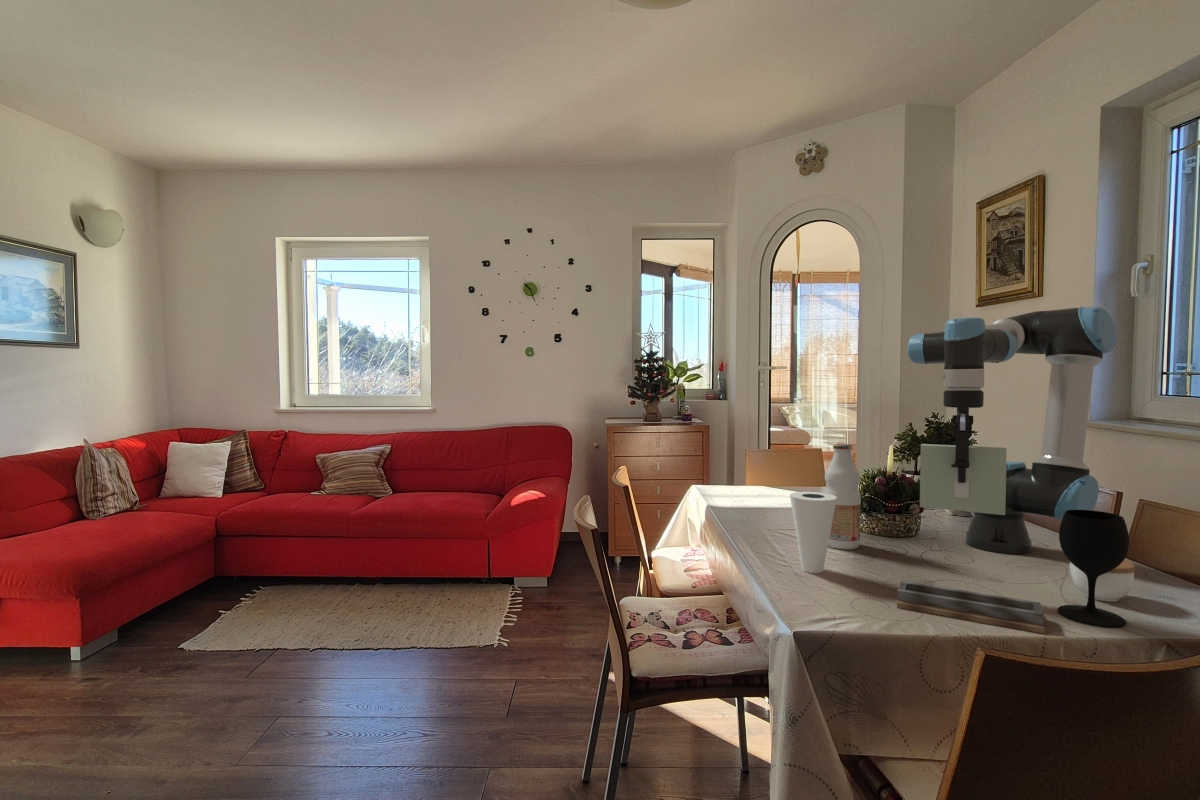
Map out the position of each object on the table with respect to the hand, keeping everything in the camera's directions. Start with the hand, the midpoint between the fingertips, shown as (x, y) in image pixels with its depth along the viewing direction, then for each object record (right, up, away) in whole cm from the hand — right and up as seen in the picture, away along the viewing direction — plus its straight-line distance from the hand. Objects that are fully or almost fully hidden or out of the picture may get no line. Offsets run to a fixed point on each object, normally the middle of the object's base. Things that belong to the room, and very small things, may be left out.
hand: (961, 495), depth 132 cm
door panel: (0, -3, 0) cm, 3 cm away
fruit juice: (-13, -19, +34) cm, 41 cm away
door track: (-7, -21, -13) cm, 26 cm away
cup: (-29, -20, +12) cm, 37 cm away
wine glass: (+15, -21, -16) cm, 31 cm away
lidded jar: (+26, -21, -5) cm, 34 cm away
